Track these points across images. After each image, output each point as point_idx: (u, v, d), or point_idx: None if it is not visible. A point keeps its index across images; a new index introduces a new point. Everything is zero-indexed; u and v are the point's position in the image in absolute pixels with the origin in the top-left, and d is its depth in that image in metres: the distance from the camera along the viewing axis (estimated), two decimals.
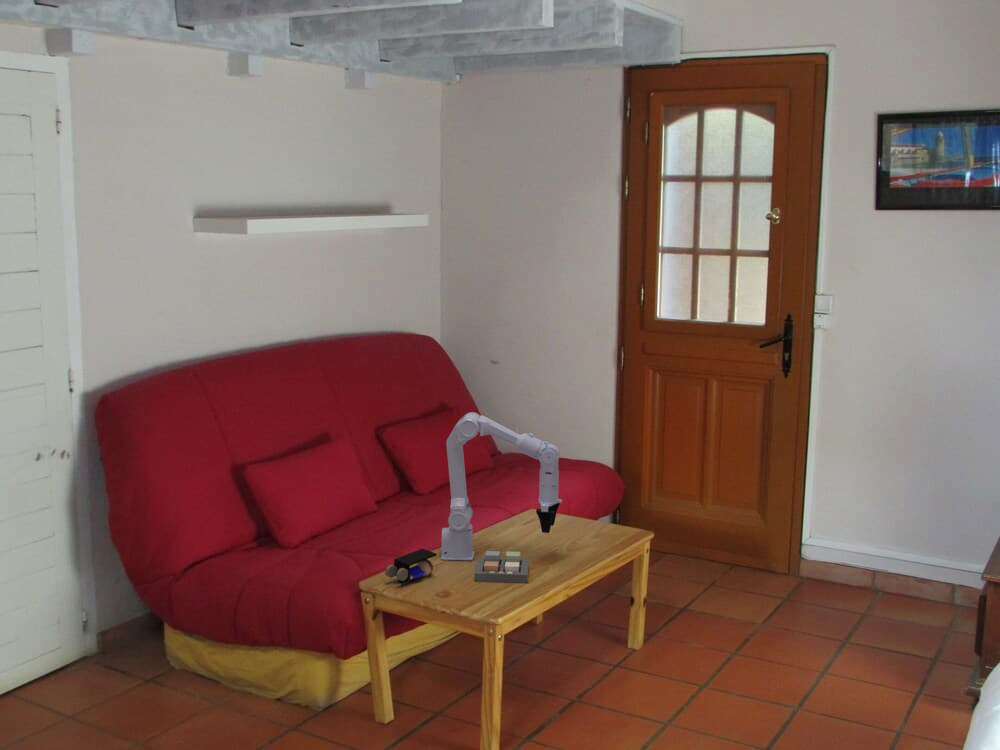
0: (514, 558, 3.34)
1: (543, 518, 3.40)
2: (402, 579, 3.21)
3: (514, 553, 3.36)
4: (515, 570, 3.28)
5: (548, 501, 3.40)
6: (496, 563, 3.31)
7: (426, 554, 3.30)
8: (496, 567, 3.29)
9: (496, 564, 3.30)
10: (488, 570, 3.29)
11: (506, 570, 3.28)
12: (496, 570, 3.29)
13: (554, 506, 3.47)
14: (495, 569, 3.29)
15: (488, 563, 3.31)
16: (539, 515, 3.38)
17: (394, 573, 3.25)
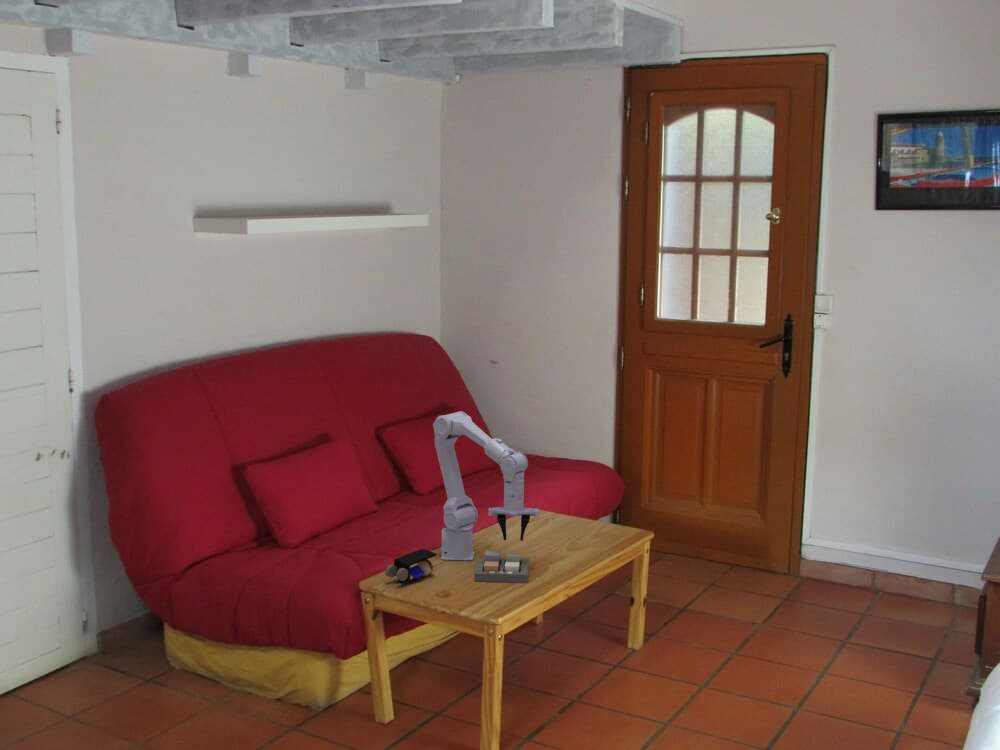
0: (514, 558, 3.34)
1: None
2: (402, 579, 3.21)
3: (514, 553, 3.36)
4: (515, 570, 3.28)
5: (503, 509, 3.33)
6: (496, 563, 3.31)
7: (426, 554, 3.30)
8: (496, 567, 3.29)
9: (496, 564, 3.30)
10: (488, 570, 3.29)
11: (506, 570, 3.28)
12: (496, 570, 3.29)
13: None
14: (495, 569, 3.29)
15: (488, 563, 3.31)
16: None
17: (394, 573, 3.25)
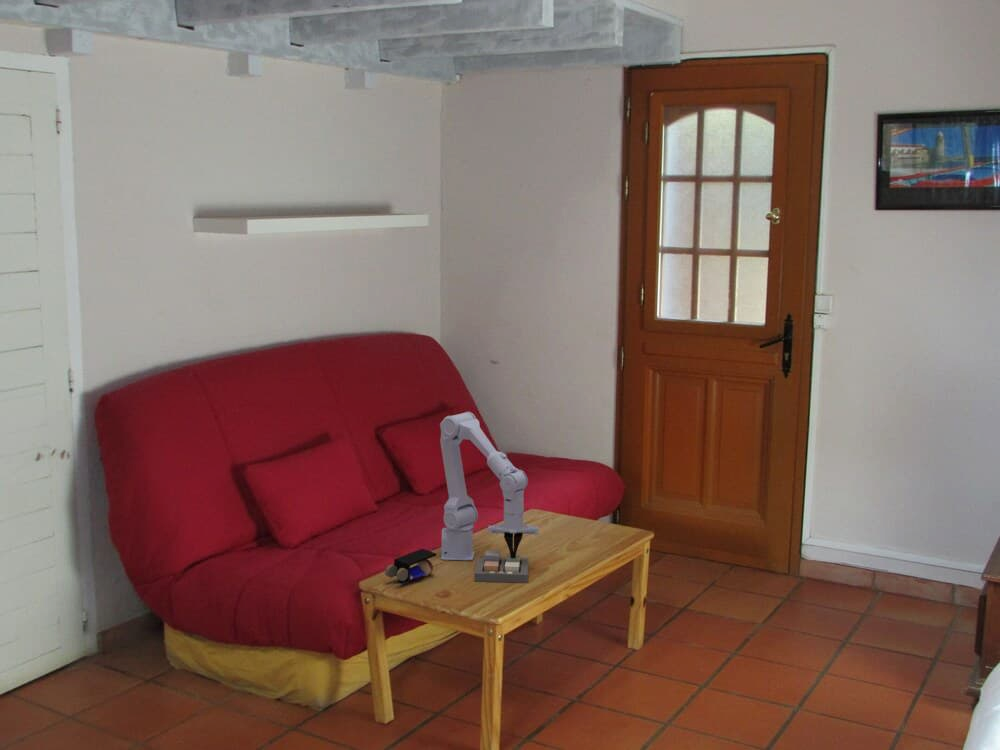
0: None
1: None
2: (402, 579, 3.21)
3: None
4: (515, 570, 3.28)
5: (503, 527, 3.34)
6: (496, 563, 3.31)
7: (426, 554, 3.30)
8: (496, 567, 3.29)
9: (496, 564, 3.30)
10: (488, 570, 3.29)
11: (506, 570, 3.28)
12: (496, 570, 3.29)
13: None
14: (495, 569, 3.29)
15: (488, 563, 3.31)
16: None
17: (394, 573, 3.25)
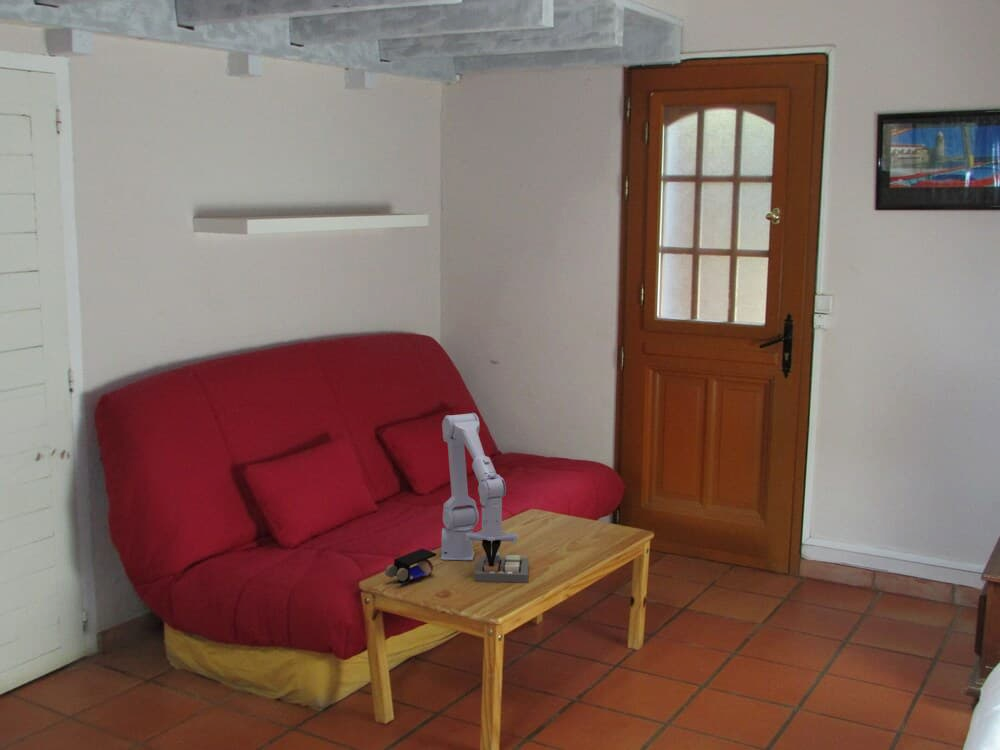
0: None
1: None
2: (402, 579, 3.21)
3: (514, 557, 3.36)
4: (515, 570, 3.28)
5: (481, 534, 3.29)
6: (496, 564, 3.31)
7: (426, 554, 3.30)
8: (496, 568, 3.29)
9: (496, 565, 3.30)
10: (488, 571, 3.29)
11: (506, 570, 3.28)
12: (496, 571, 3.29)
13: None
14: (495, 570, 3.29)
15: (488, 564, 3.31)
16: None
17: (394, 573, 3.25)
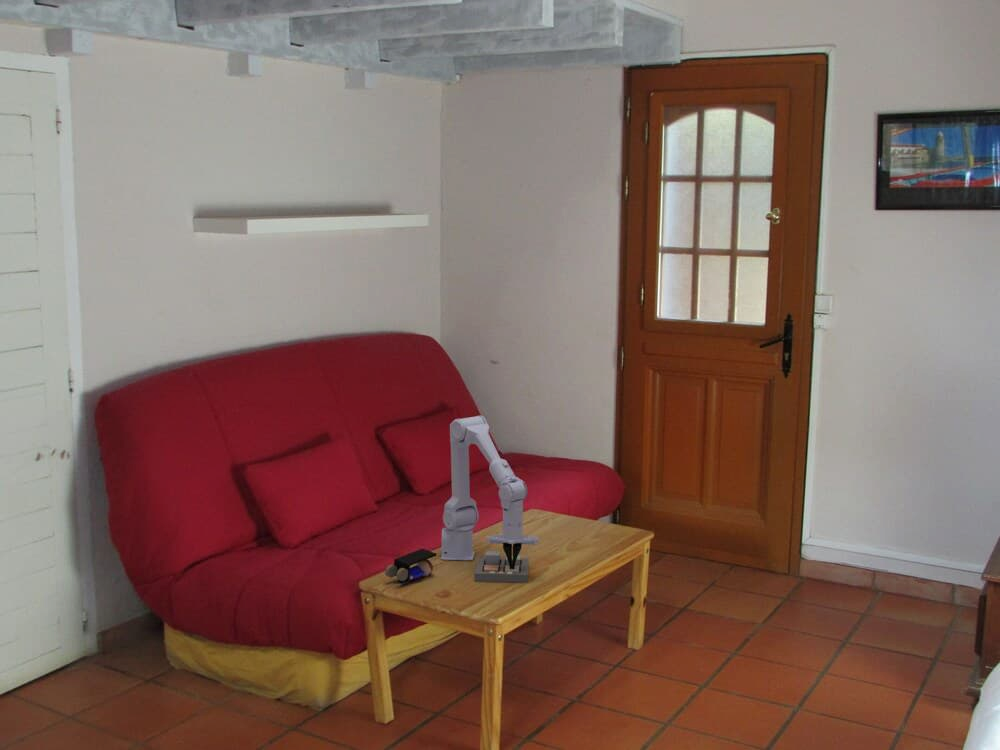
0: None
1: None
2: (402, 579, 3.21)
3: None
4: None
5: (502, 537, 3.29)
6: (496, 567, 3.31)
7: (426, 554, 3.30)
8: (496, 571, 3.29)
9: (496, 568, 3.30)
10: None
11: None
12: None
13: None
14: None
15: (488, 567, 3.31)
16: None
17: (394, 573, 3.25)
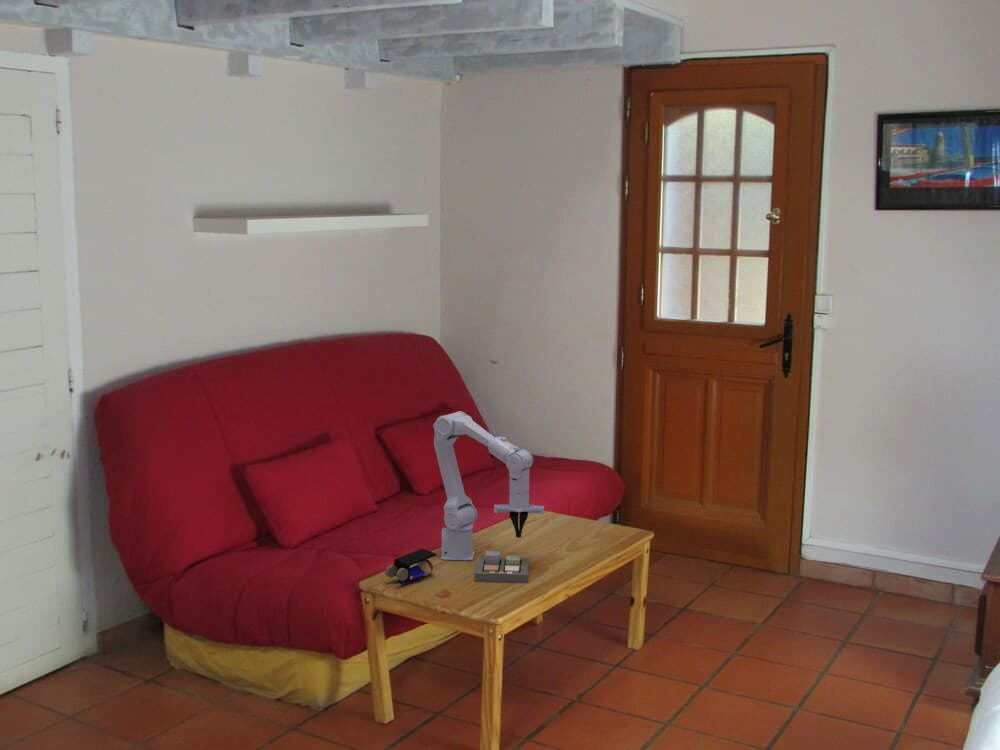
0: (514, 562, 3.34)
1: None
2: (402, 579, 3.21)
3: (514, 557, 3.36)
4: None
5: (509, 506, 3.35)
6: (496, 567, 3.31)
7: (426, 553, 3.30)
8: (496, 571, 3.29)
9: (496, 568, 3.30)
10: None
11: None
12: None
13: None
14: None
15: (488, 567, 3.31)
16: None
17: (394, 573, 3.25)
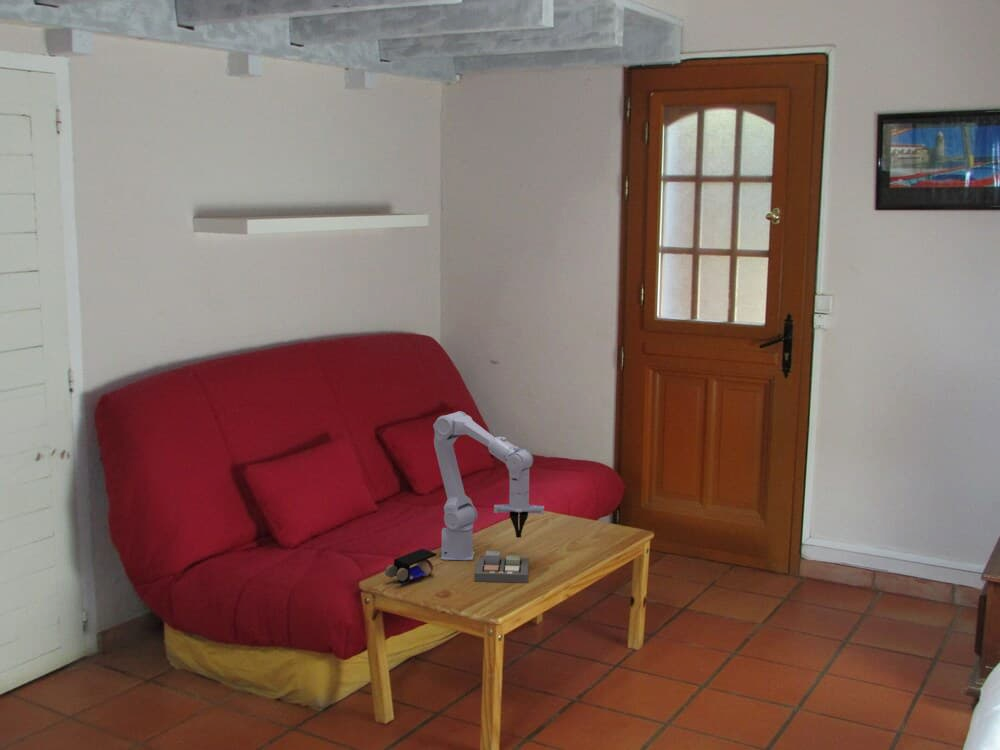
0: (514, 562, 3.34)
1: None
2: (402, 579, 3.21)
3: (514, 557, 3.36)
4: None
5: (509, 506, 3.35)
6: (496, 567, 3.31)
7: (426, 554, 3.30)
8: (496, 571, 3.29)
9: (496, 568, 3.30)
10: None
11: None
12: None
13: None
14: None
15: (488, 567, 3.31)
16: None
17: (394, 573, 3.25)
